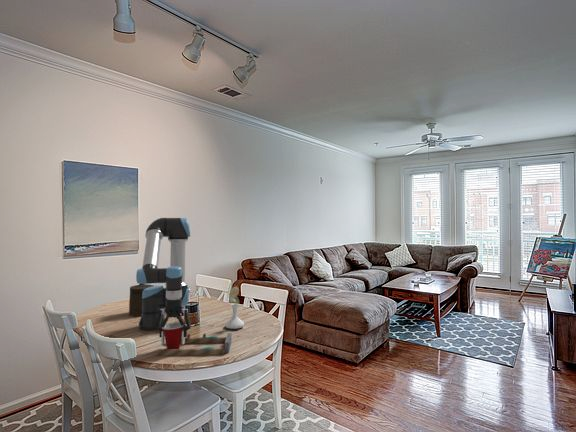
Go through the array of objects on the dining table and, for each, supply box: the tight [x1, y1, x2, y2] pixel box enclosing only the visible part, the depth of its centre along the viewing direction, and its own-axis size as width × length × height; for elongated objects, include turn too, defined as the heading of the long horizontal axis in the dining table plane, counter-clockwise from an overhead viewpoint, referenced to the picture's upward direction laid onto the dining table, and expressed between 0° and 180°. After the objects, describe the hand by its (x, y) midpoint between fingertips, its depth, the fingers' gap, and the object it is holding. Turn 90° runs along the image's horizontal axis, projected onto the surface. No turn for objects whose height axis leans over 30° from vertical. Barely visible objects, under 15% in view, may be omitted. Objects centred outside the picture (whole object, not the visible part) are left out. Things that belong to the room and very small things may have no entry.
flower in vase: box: [224, 285, 245, 330], centre depth 194 cm, size 13×11×25 cm
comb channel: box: [157, 333, 227, 357], centre depth 163 cm, size 31×16×4 cm, turn 95°
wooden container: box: [128, 284, 154, 318], centre depth 221 cm, size 15×15×22 cm
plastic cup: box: [162, 321, 183, 349], centre depth 162 cm, size 11×11×12 cm
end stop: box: [224, 332, 232, 354], centre depth 164 cm, size 2×13×5 cm, turn 5°
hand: (173, 343), depth 162 cm, fingers closed on plastic cup, 9 cm apart
